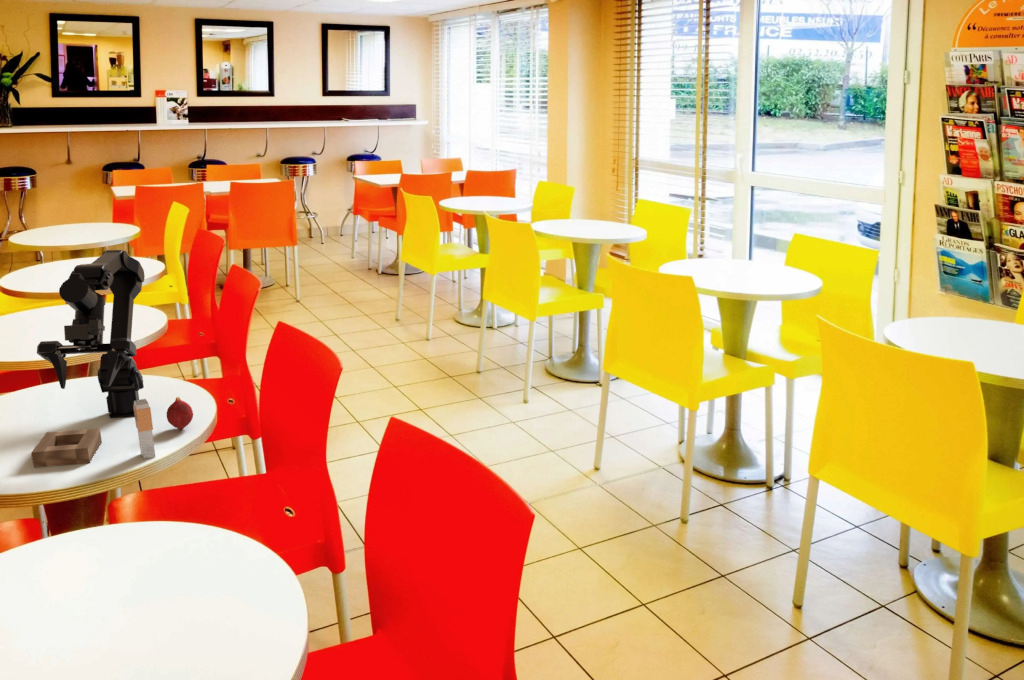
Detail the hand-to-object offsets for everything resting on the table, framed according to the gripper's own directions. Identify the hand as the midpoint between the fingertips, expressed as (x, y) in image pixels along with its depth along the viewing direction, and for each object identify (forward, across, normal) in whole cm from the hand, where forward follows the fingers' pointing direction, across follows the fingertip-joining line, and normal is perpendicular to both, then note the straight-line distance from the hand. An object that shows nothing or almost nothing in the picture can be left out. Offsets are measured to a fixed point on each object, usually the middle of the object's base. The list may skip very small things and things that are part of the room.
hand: (85, 387), depth 182 cm
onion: (+6, +16, +19) cm, 25 cm away
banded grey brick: (+14, +12, +7) cm, 20 cm away
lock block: (+12, -6, +9) cm, 17 cm away
